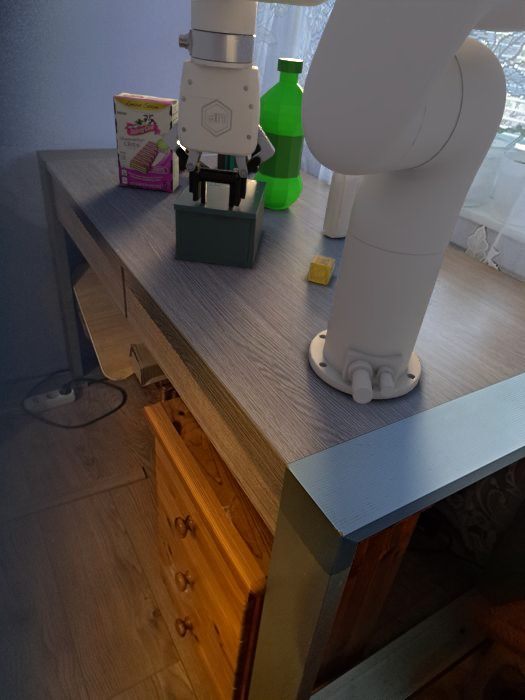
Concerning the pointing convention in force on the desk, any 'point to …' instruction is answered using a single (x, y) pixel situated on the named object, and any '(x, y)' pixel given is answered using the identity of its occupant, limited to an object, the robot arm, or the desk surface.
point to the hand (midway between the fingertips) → (217, 199)
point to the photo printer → (340, 203)
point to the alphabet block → (321, 269)
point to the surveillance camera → (232, 161)
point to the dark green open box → (218, 237)
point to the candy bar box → (145, 141)
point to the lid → (222, 195)
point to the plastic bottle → (283, 136)
